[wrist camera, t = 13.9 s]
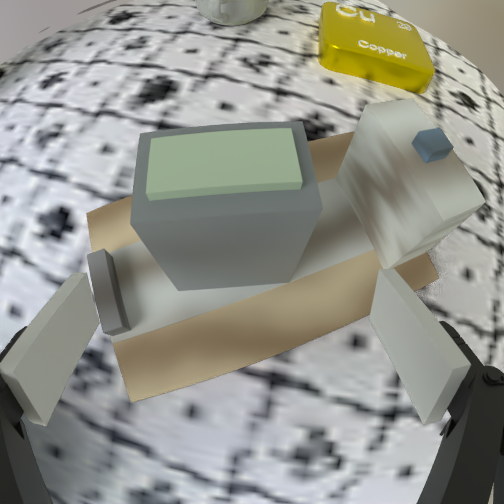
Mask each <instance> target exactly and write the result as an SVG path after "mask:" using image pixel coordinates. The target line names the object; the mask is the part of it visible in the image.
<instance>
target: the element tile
mask: <svg viewBox="0 0 504 504" xmlns="http://www.w3.org/2000/svg"><path fill="white" fill-rule="evenodd" d="M318 61H319V63H320V64H321V65H322V66H323V67H324V68H326V69H328V70H331V71H334V72H338V73H343V74H348V75H352V76H356V77H360V78H364V79H368V80H372V81H376V82H380V83H383V84H387V85H390V86H394V87H397V88H401V89H404V90H407V91H410V92H413V93H418V94H422V93H424V92H425V90H426V89H427V87H428V85H429V83H430V81H431V79H432V77H433V75H434V73H435V68H434V66H433V63H432V61H431V59H430V56H429V54H428V52H427V50H426V48H425V45H424V43H423V41H422V39H421V37H420V35H419V33H418V31H417V30H416V28H415V27H414V26H413V25H412V24H410V23H407V22H404V21H401V20H398V19H395V18H392V17H389V16H385V15H382V14H379V13H375V12H371V11H368V10H364V9H360V8H356V7H352V6H348V5H343V4H339V3H334V2H326V3H324V4H323V5H322V9H321V15H320V20H319V45H318Z"/></svg>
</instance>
